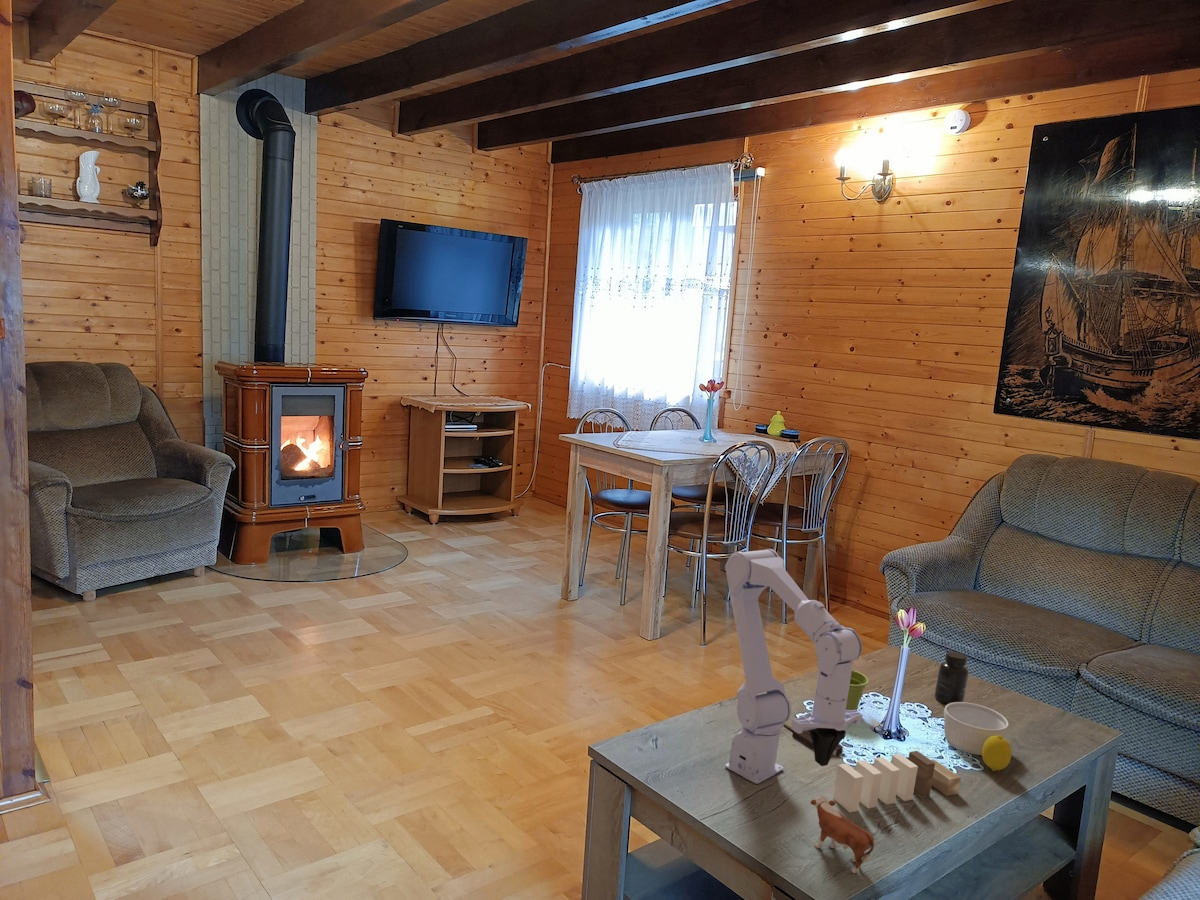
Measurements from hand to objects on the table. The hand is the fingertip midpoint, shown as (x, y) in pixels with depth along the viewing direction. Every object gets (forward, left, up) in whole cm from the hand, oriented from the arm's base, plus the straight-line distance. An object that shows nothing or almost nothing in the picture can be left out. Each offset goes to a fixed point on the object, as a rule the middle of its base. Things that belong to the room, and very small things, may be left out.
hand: (821, 762), depth 160 cm
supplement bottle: (+72, +6, -10) cm, 73 cm away
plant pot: (+43, +19, -10) cm, 48 cm away
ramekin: (+54, -7, -10) cm, 55 cm away
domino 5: (+24, -9, -10) cm, 27 cm away
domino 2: (+11, -4, -10) cm, 15 cm away
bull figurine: (-8, -9, -10) cm, 16 cm away
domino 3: (+16, -6, -10) cm, 19 cm away
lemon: (+46, -15, -10) cm, 49 cm away
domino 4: (+20, -7, -10) cm, 23 cm away
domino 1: (+7, -2, -10) cm, 12 cm away
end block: (+30, -11, -10) cm, 33 cm away
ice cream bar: (+24, +16, -10) cm, 30 cm away
